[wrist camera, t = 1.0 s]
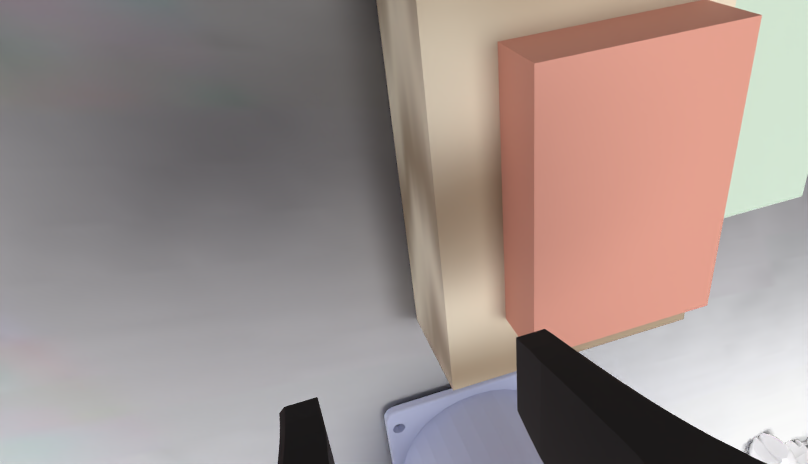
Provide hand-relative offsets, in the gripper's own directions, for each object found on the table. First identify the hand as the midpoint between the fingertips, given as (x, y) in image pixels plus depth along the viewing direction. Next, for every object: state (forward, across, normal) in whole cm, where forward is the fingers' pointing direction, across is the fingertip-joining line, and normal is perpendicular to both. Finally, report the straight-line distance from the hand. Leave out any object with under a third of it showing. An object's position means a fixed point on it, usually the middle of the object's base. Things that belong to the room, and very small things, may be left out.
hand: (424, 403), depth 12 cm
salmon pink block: (+6, -8, 0) cm, 10 cm away
